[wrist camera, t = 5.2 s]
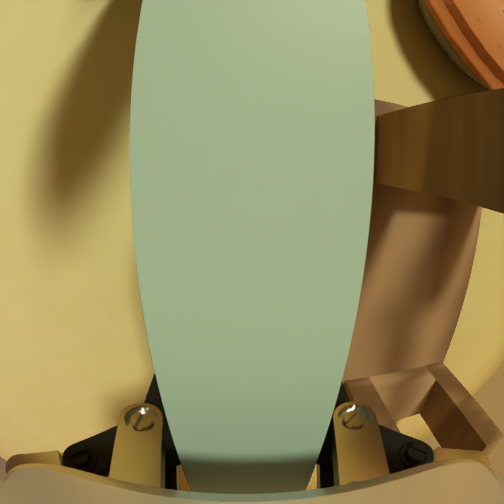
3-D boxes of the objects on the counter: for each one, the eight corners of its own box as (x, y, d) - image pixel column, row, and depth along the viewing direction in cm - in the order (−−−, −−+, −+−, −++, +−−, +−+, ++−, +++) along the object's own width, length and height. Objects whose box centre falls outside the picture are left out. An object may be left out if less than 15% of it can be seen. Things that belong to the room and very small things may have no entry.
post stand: (476, 131, 15) (592, 137, 5) (421, 395, 22) (473, 473, 12) (366, 102, 15) (503, 55, 4) (327, 414, 22) (363, 519, 11)
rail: (299, 42, 8) (352, -59, 2) (271, 478, 15) (277, 549, 10) (199, 40, 8) (158, -65, 2) (220, 478, 15) (217, 550, 10)
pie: (459, 133, 16) (507, 132, 11) (353, -42, 11) (378, -76, 7) (533, 94, 14) (567, 93, 9) (461, -37, 10) (488, -53, 5)
